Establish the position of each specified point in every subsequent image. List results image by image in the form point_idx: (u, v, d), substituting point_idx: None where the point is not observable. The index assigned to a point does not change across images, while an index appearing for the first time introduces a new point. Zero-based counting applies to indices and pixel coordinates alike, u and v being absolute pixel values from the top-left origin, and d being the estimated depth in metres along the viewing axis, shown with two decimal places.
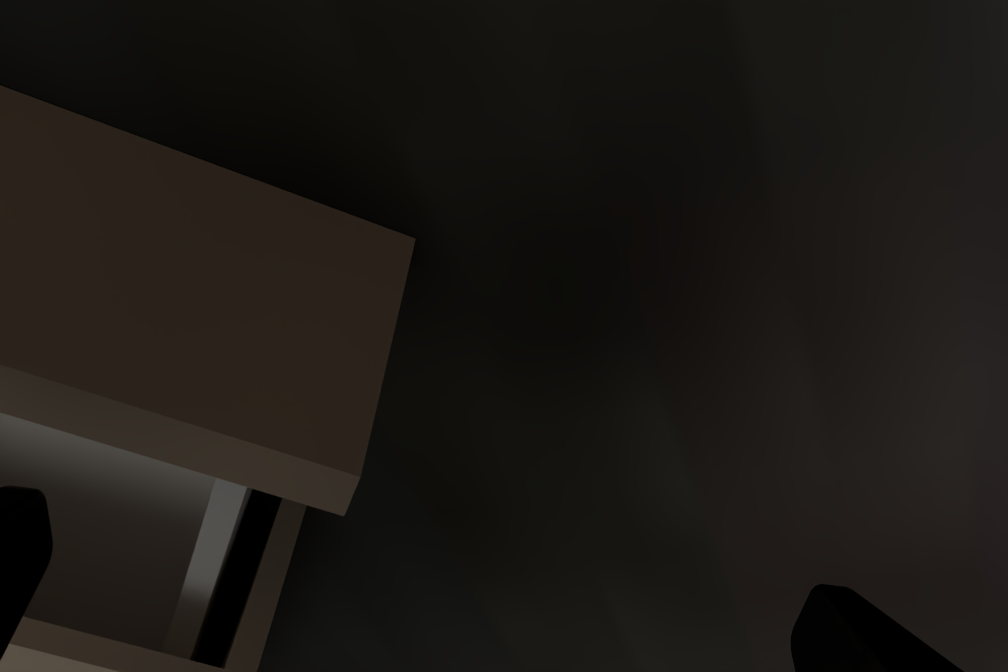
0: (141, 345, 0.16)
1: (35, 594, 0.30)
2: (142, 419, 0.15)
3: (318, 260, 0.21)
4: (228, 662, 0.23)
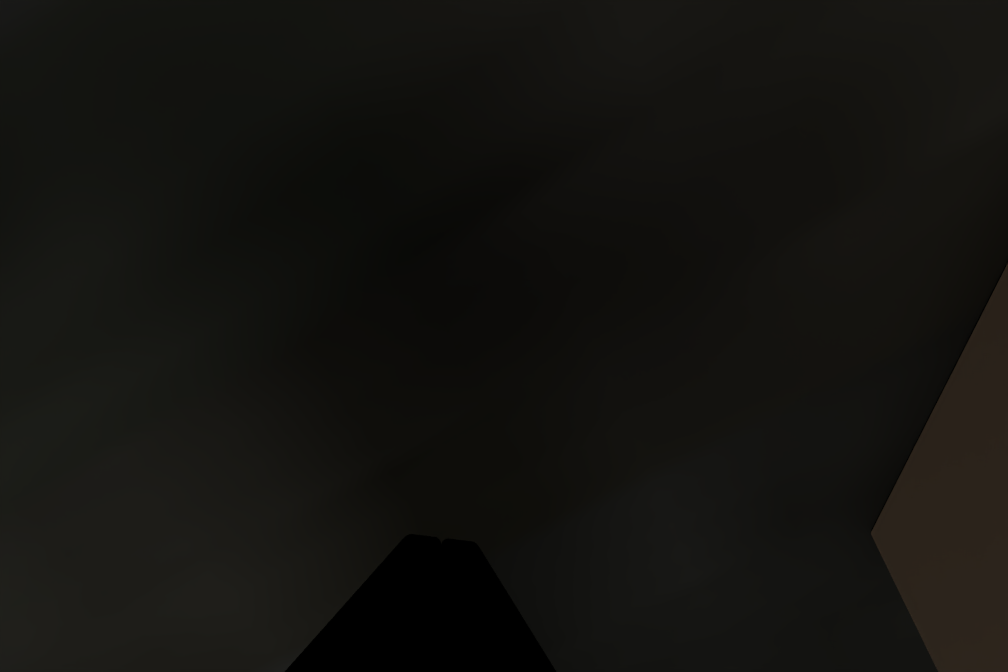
0: None
1: None
2: None
3: None
4: None
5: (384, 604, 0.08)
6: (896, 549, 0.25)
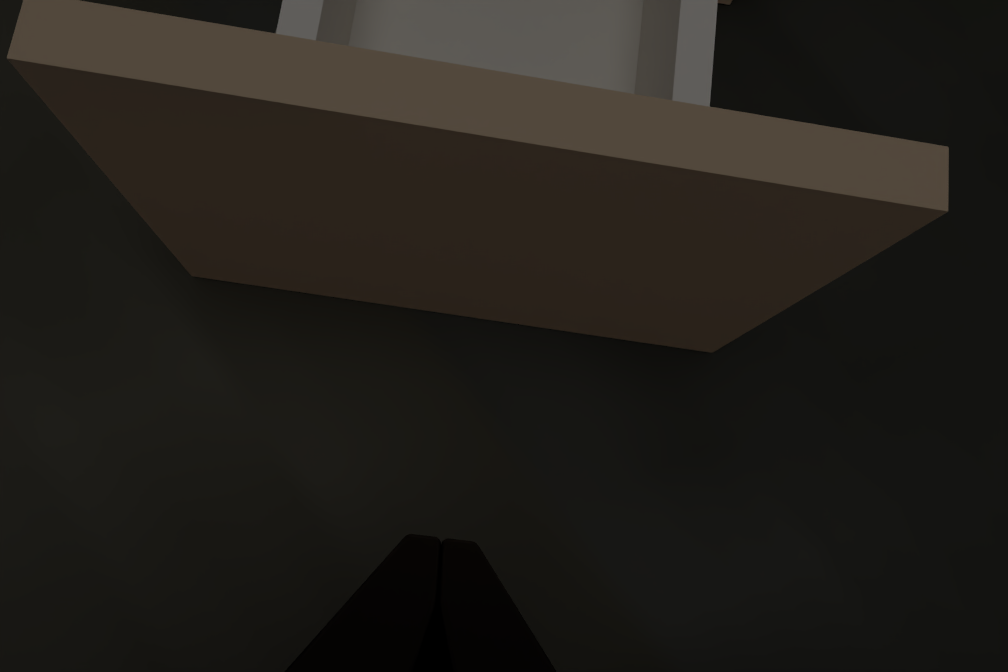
0: (353, 163, 0.13)
1: None
2: (299, 91, 0.12)
3: (261, 250, 0.18)
4: None
5: (384, 604, 0.08)
6: (702, 337, 0.21)
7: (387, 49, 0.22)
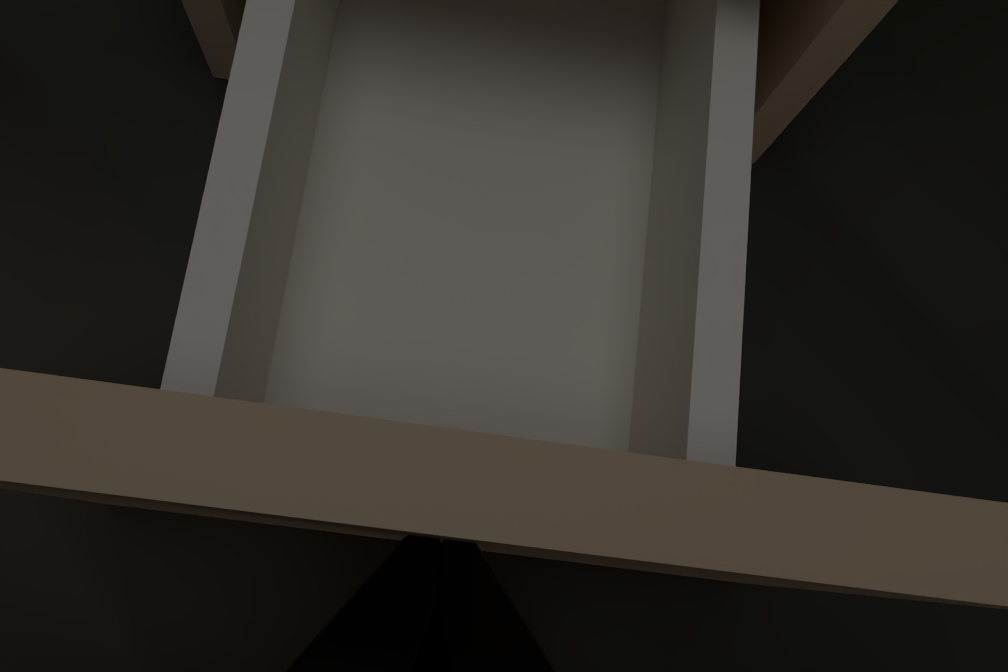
0: (263, 516, 0.10)
1: None
2: (165, 477, 0.08)
3: None
4: None
5: (384, 604, 0.08)
6: None
7: (345, 217, 0.18)
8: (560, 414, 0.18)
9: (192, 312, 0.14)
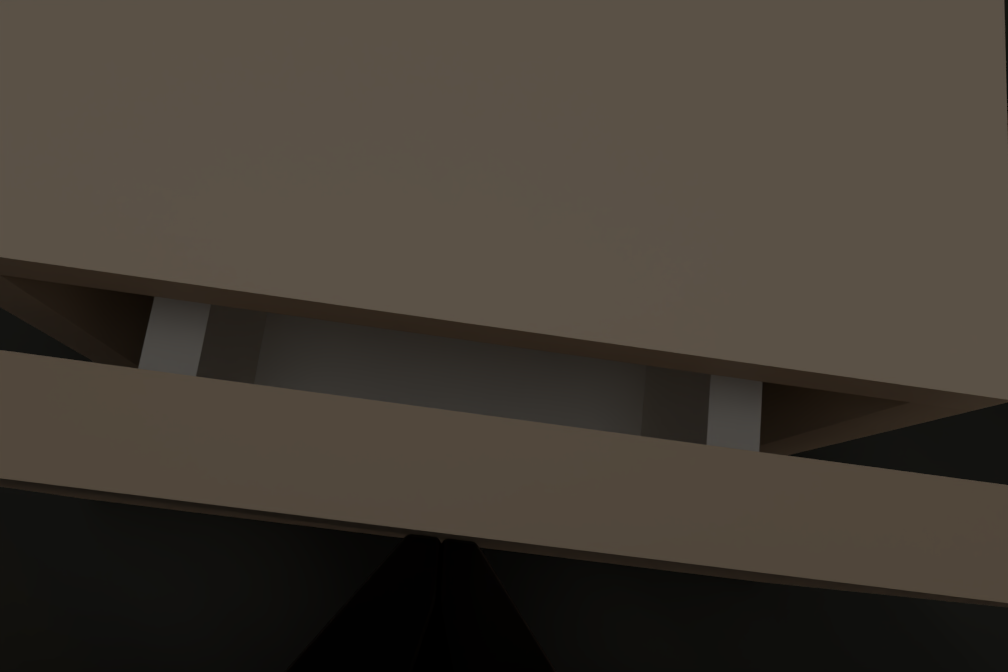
0: (242, 511, 0.09)
1: None
2: (125, 465, 0.07)
3: None
4: (4, 279, 0.10)
5: (384, 604, 0.08)
6: None
7: None
8: (568, 403, 0.17)
9: None
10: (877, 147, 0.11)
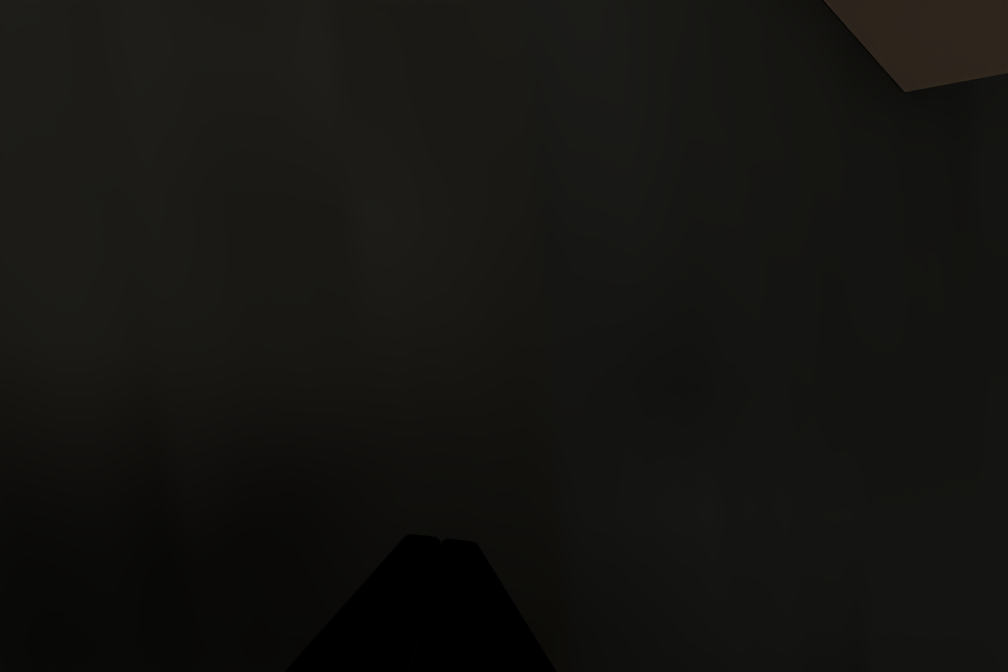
0: None
1: None
2: None
3: None
4: None
5: (384, 604, 0.08)
6: (927, 66, 0.22)
7: None
8: None
9: None
10: None
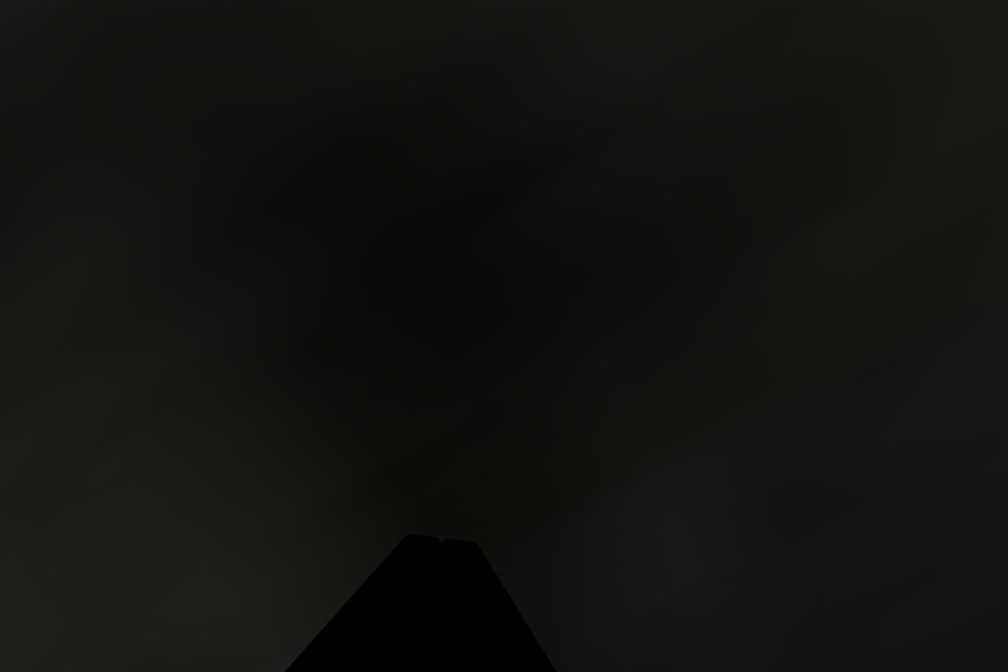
0: None
1: None
2: None
3: None
4: None
5: (384, 604, 0.08)
6: None
7: None
8: None
9: None
10: None
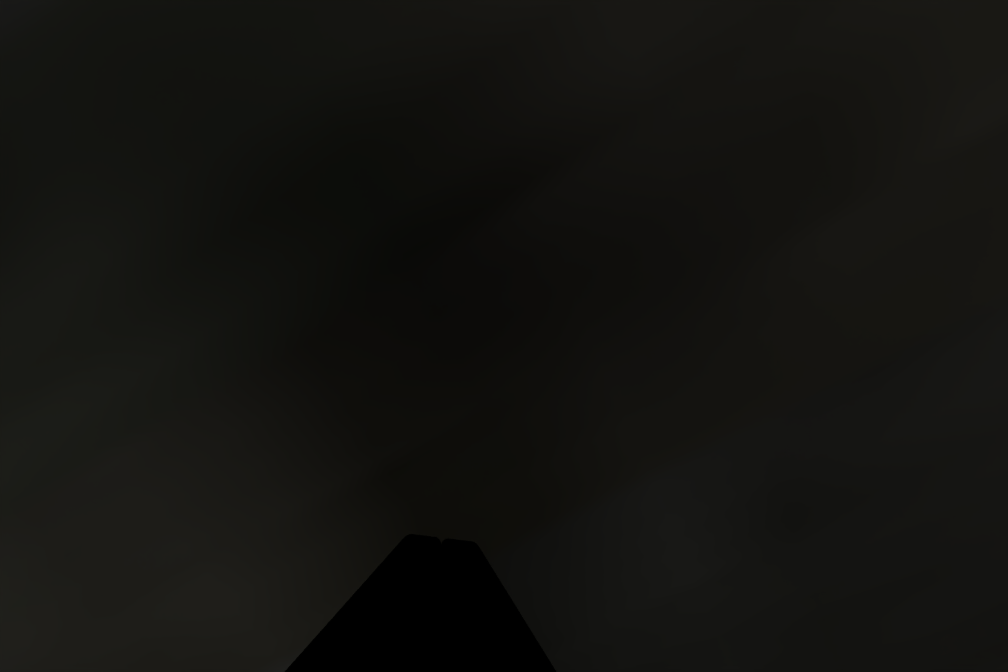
0: None
1: None
2: None
3: None
4: None
5: (384, 604, 0.08)
6: None
7: None
8: None
9: None
10: None
